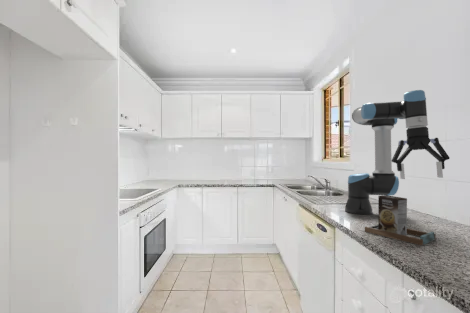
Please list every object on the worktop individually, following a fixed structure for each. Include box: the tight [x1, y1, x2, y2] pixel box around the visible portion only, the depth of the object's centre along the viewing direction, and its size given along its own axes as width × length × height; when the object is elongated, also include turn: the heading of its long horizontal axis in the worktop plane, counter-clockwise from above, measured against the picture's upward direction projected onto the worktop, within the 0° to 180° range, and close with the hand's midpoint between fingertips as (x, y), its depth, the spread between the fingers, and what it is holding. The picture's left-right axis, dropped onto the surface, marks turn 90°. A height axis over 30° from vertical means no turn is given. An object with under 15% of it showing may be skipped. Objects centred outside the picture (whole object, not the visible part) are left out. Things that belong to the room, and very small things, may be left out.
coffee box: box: [377, 195, 408, 236], centre depth 112 cm, size 9×6×16 cm
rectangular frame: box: [364, 224, 437, 246], centre depth 110 cm, size 13×22×3 cm, turn 34°
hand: (421, 178), depth 107 cm, fingers open, 13 cm apart
